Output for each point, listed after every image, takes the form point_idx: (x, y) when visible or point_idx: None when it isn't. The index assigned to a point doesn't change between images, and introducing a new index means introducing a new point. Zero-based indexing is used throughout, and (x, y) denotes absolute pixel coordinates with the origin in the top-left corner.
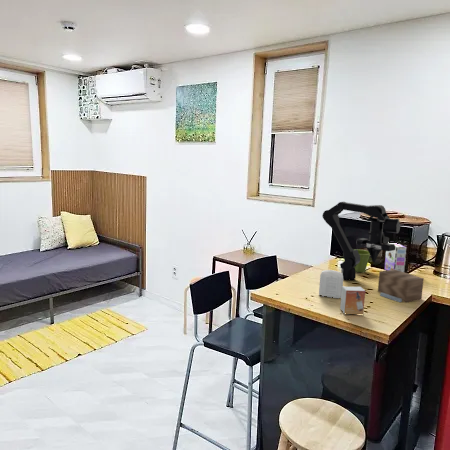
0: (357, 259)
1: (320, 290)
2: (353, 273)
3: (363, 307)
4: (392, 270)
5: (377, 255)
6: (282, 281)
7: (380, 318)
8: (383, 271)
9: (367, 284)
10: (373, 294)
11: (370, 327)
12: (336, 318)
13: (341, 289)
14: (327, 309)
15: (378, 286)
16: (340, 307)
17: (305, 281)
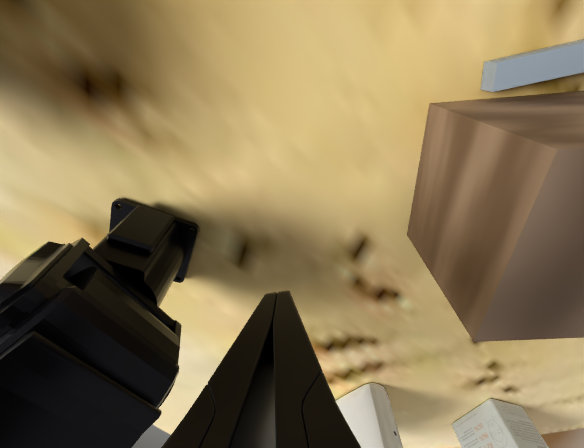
0: (128, 359)
1: None
2: (162, 253)
3: (539, 436)
4: (559, 214)
5: (322, 376)
6: (168, 430)
7: (574, 387)
8: (498, 315)
9: (283, 203)
10: (424, 281)
11: (574, 424)
12: None
13: (395, 427)
14: (426, 436)
15: (421, 253)
16: (457, 434)
17: (176, 391)
